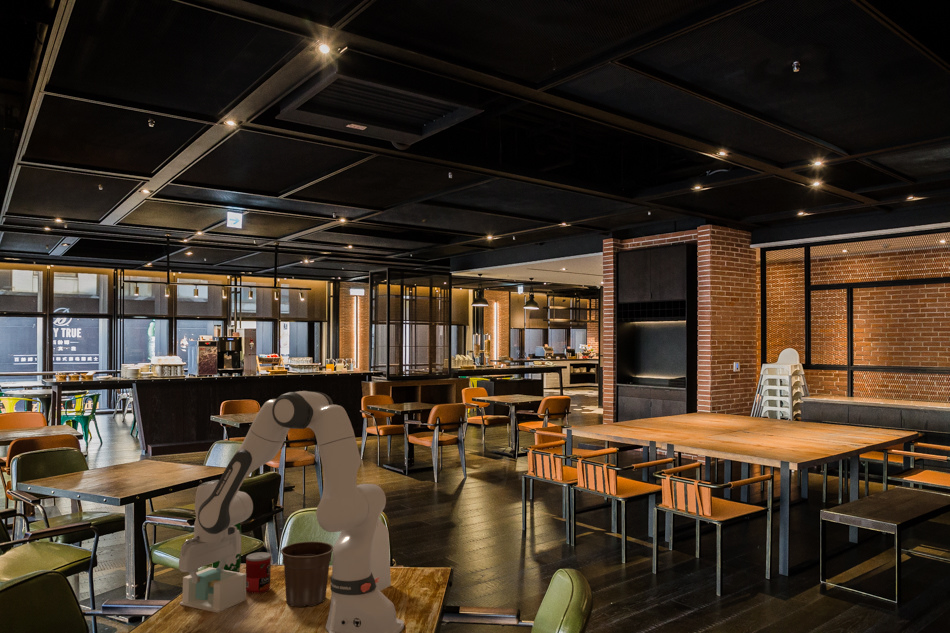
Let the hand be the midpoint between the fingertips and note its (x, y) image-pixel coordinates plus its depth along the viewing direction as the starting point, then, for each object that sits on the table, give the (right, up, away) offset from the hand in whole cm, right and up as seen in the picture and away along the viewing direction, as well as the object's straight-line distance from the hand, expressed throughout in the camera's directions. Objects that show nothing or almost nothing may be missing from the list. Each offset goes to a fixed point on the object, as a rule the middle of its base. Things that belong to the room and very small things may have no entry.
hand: (208, 577), depth 199 cm
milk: (+47, -9, +14) cm, 50 cm away
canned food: (+11, -9, +12) cm, 19 cm away
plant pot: (+30, -9, +3) cm, 31 cm away
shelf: (+1, -8, +1) cm, 8 cm away
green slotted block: (0, -6, 0) cm, 6 cm away
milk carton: (-2, -10, +19) cm, 22 cm away
